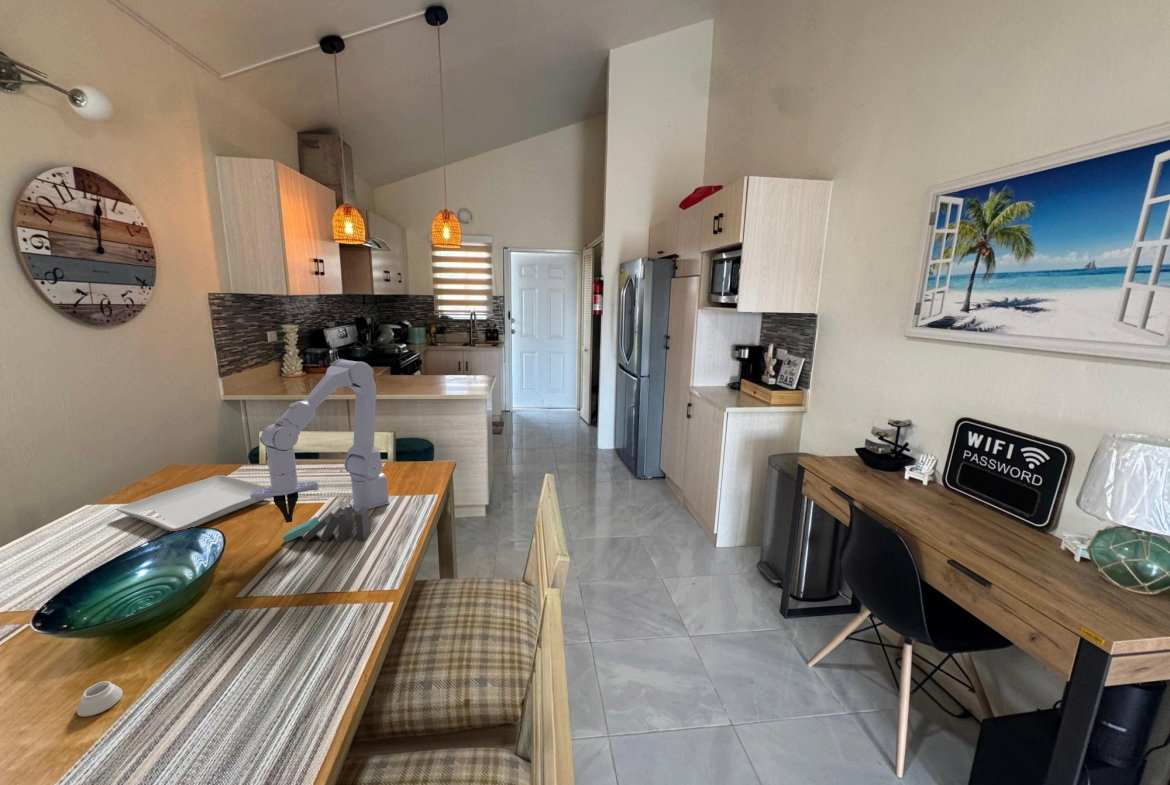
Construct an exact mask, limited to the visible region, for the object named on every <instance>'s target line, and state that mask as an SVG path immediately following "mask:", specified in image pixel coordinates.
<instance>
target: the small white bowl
mask: <svg viewBox="0 0 1170 785" xmlns="http://www.w3.org/2000/svg"><path fill="white" fill-rule="evenodd" d="M123 693H124V692H123V690H122V688H121V687H119V686H117V685H116V684H114V683H112V682H111V681H109V680H108V681H107V680H105V681H99V682H97V683H94V684H93V685H91V686H89V687H88V688H86V689H85V690H84V692H83V695H82V697H81V698H80V699H79V700H80V701H79V703H78V705H77V708H76V711H75V712H76V714H77V715H78V717H83V718H85V717H92V716H95V715H97V714H98V715H99V714H100V713H103V712H105V711H106V710H107V711H108V710H109V709H110V708H112V707H113V706H114V705H115V704H117V703H118V702H119V701H120V700H121V699H122V697H123Z"/></svg>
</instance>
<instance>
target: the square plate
mask: <svg viewBox="0 0 1170 785" xmlns="http://www.w3.org/2000/svg"><path fill="white" fill-rule="evenodd" d="M269 487H270V486H264V485H261V484H258V483H254V482H251V481H247V480H243V479H240V478H235V477H231V476H226V475H222V474H220V475H219V474H218V475H214V476H211V477H208V478H205V479H201V480H198V481H193V482H190V483H187V484H184V485H181V486H178V487H175V488H172V489H168V490H165V491H163V492H158V493H155V494H153V495H150V496H147V497H145V498H141V499H139V500H136V501H133V502H130V503H128V504H124V505H122V506H119V507H117V508H116V509H115V510H116V511H118V512H120V513H122V514H124V515H126V516H128V517H132V518H135V519H138V520H141V521H144V522H146V523H149V524H152V525H155V526H157V527H159V528H161V529H162V530H163V529H164V530H166V531H169V532H172V531H176V530H179V529H185V528H190V527H193V528H195V527H197V526H201V525H203V524H205V523H208V522H210V521H214V520H215V519H218V518H221V517H223V516H225V515H228V514H231V513H233V512H236V511H239V510H241V509H243V508H245V507H248V506H250V505H253V504H256V503H258V502H260V501H262V500H264V499H260V500H257V501H254V502H251V497H250V493H251V492H254V491H258V490H262V489H266V488H269ZM146 510H147V511H148V510H150V511H151V510H154V511H155V512H157V513H159V516H160V515H161V517H162V516H163V518H164V517H165V520H163V519H159V518H154V517H151V516H146V515H141V514H138V513H140V512H141V511H142V512H143V511H146ZM152 512H153V511H152Z"/></svg>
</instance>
